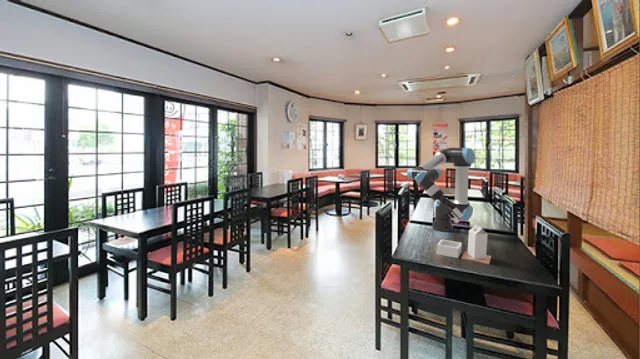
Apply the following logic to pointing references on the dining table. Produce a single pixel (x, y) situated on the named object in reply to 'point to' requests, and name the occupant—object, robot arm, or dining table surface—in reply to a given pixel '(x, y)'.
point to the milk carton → (477, 242)
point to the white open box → (449, 248)
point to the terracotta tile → (484, 261)
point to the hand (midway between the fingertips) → (460, 219)
